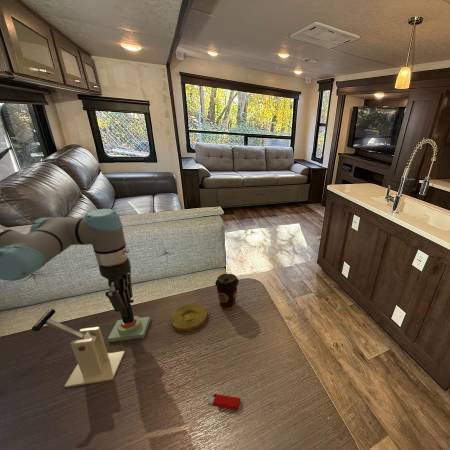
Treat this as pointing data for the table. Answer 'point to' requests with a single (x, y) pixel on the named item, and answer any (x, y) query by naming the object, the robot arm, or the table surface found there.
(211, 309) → the table surface
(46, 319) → the lever
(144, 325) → the button box
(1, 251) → the robot arm
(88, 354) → the bracket
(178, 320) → the olive yellow disc
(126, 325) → the button
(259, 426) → the table surface
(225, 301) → the coffee cup
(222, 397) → the lighter
